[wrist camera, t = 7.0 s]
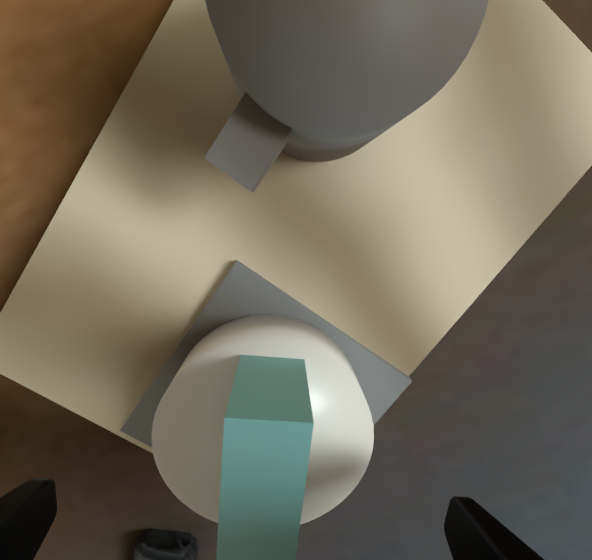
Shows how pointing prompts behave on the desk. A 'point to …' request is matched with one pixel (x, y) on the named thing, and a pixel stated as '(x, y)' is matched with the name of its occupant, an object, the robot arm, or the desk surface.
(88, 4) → the desk surface
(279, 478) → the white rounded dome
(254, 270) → the board
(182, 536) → the usb stick
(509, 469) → the desk surface
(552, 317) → the desk surface
